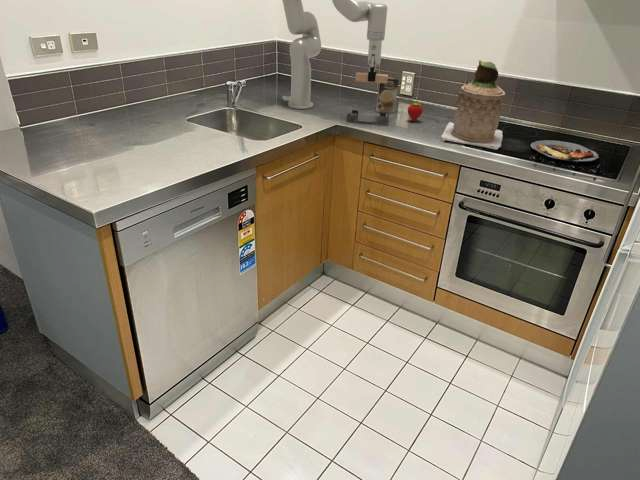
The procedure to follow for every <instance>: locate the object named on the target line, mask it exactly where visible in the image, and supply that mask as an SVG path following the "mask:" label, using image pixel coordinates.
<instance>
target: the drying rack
mask: <svg viewBox="0 0 640 480" xmlns="http://www.w3.org/2000/svg"><path fill="white" fill-rule="evenodd" d="M389 120H390V113H389V112H379V116H377V115H376V116H374V115H365V114H359V109H348V110H347V112H346V120H345V123H353V124H365V125H376V126H386V127H388V126H389Z"/></svg>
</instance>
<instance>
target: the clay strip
mask: <svg viewBox="0 0 640 480" xmlns="http://www.w3.org/2000/svg"><path fill="white" fill-rule="evenodd" d="M388 76H389V74H386V73H385V74H384V73H376V76H375V82H373V83H376V84H377V83H378V84H379V83H387V81H388ZM354 81H355V82H364V83H372V82H371V81H368V72H360V71H357V72H356V73H355V80H354Z"/></svg>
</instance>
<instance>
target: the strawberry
mask: <svg viewBox="0 0 640 480" xmlns="http://www.w3.org/2000/svg"><path fill="white" fill-rule="evenodd" d="M423 112H424V108H423V106H422V103H418V99H416V102H414V103H411V104H410V105H409V106H408V107H407V114H408V116H409V118H410V119H411V120H412V122H416V121H417V120H418V119H419V118H420V117H421V115H422V113H423Z"/></svg>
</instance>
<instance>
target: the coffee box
mask: <svg viewBox="0 0 640 480" xmlns="http://www.w3.org/2000/svg"><path fill="white" fill-rule="evenodd" d="M399 82H400V78H399V77H398V76H389V75H388V81H387V83H378V89H377V91H378V92H377V99H376V107H375V111H376V113H377V112H378V113H380V112H386V113H391V114H393V113H394V114H395V112H396V103H397V95H398V88H399Z"/></svg>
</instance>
